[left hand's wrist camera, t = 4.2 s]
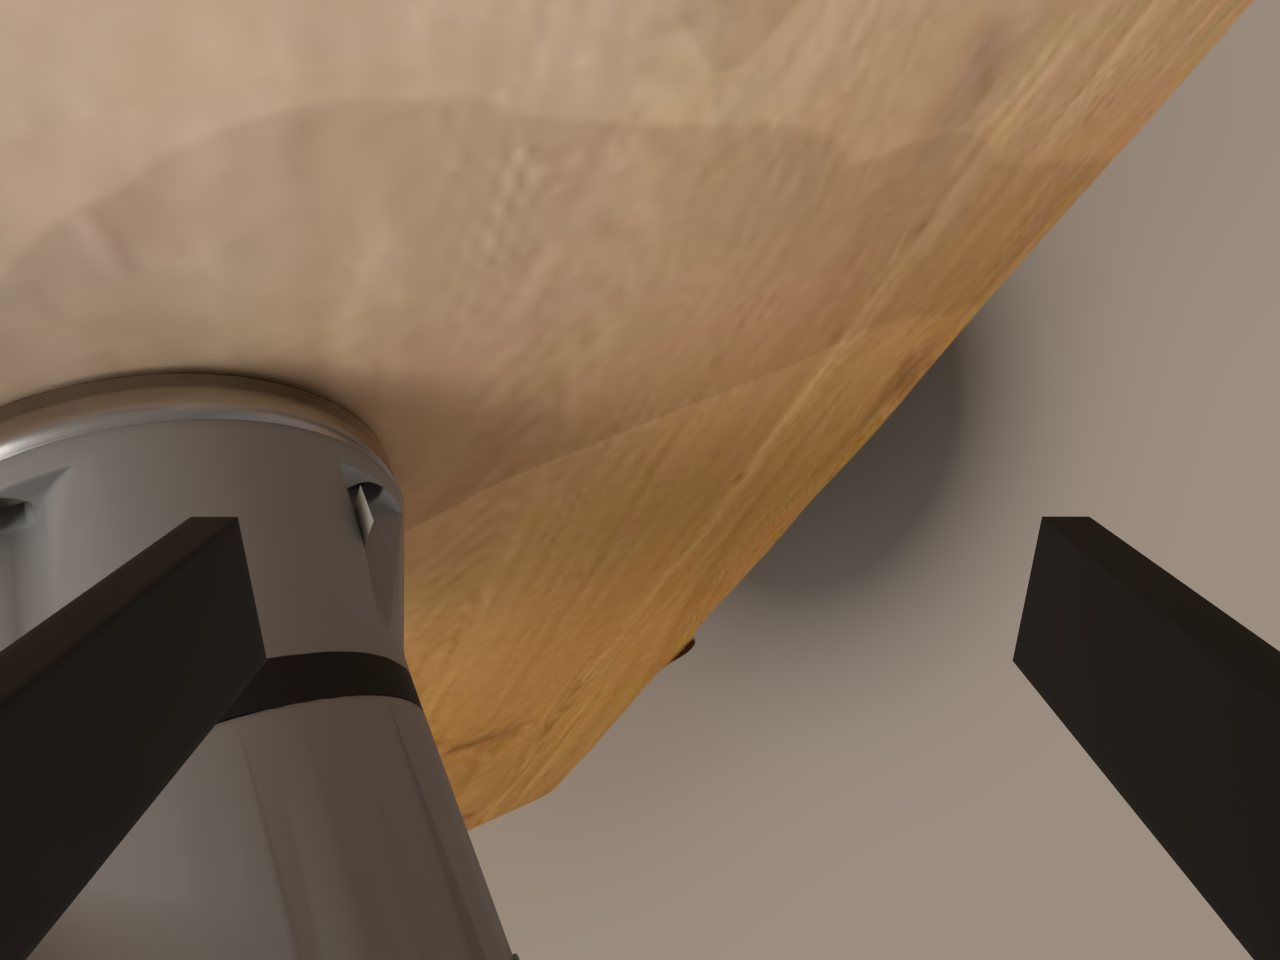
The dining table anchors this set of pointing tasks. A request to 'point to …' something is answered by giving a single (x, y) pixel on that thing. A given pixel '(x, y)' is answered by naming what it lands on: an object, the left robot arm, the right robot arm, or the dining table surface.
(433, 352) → the dining table surface
